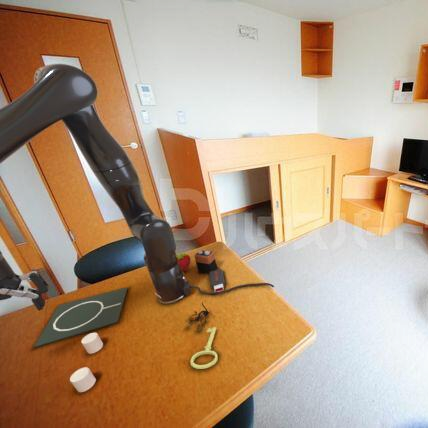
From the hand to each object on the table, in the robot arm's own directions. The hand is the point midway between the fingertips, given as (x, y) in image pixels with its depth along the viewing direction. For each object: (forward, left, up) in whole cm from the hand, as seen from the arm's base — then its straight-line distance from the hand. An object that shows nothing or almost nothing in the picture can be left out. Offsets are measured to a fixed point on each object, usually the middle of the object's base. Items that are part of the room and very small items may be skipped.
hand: (15, 317), depth 57 cm
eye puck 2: (-10, +10, -20) cm, 24 cm away
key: (-39, +14, -20) cm, 45 cm away
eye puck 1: (-9, -2, -20) cm, 22 cm away
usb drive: (-44, -16, -20) cm, 51 cm away
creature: (-37, +2, -20) cm, 42 cm away
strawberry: (-33, -30, -20) cm, 49 cm away
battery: (-42, -26, -20) cm, 53 cm away
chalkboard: (-3, -19, -20) cm, 28 cm away
